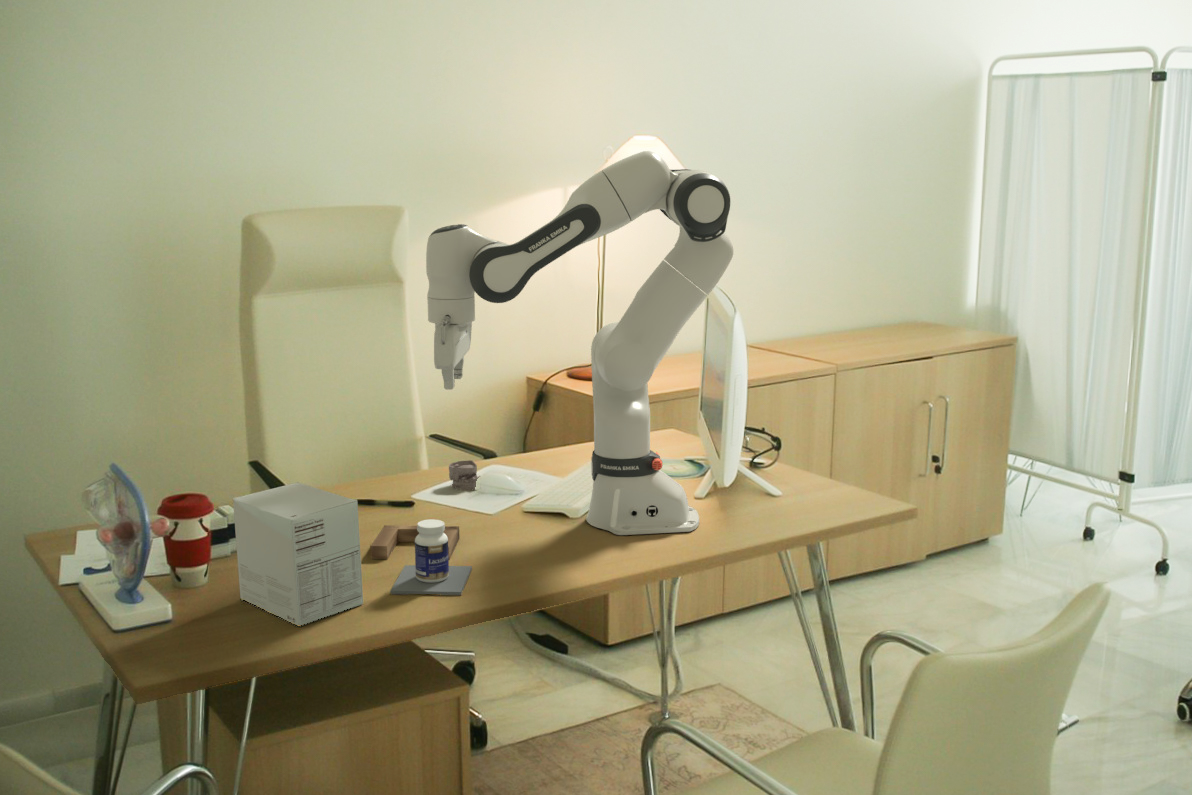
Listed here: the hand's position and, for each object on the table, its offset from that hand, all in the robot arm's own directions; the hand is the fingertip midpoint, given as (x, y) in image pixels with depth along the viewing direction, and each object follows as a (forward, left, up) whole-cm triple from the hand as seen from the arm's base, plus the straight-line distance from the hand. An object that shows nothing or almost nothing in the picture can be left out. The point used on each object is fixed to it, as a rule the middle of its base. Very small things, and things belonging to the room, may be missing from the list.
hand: (453, 383), depth 226 cm
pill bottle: (0, +28, -29) cm, 40 cm away
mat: (0, +28, -29) cm, 40 cm away
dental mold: (+3, -29, -29) cm, 41 cm away
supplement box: (+20, +38, -29) cm, 52 cm away
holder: (+6, +12, -29) cm, 32 cm away
